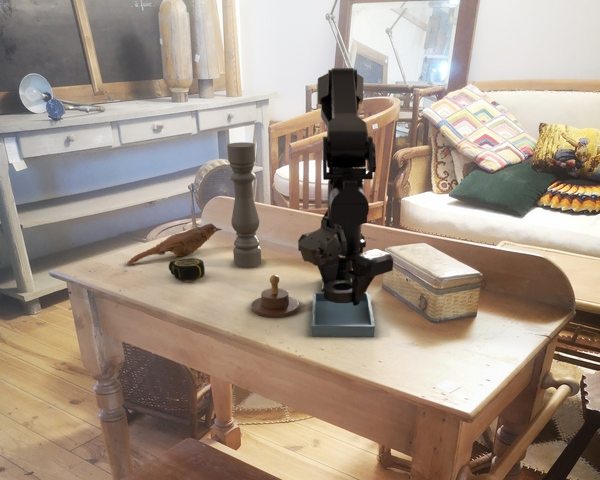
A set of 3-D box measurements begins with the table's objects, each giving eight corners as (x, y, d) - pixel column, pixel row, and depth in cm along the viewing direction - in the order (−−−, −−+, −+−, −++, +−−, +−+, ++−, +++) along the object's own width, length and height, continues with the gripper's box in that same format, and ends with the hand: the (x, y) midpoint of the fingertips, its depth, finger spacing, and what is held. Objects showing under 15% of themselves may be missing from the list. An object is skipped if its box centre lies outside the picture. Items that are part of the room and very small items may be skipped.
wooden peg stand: (254, 298, 117) (252, 266, 113) (299, 298, 116) (299, 267, 113) (249, 317, 109) (247, 284, 106) (298, 318, 109) (297, 284, 105)
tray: (313, 301, 115) (313, 292, 114) (368, 302, 115) (369, 292, 114) (311, 336, 102) (311, 325, 101) (374, 336, 102) (375, 326, 101)
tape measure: (200, 271, 130) (198, 254, 128) (209, 281, 125) (207, 263, 123) (169, 275, 128) (167, 258, 126) (177, 286, 123) (175, 268, 121)
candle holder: (257, 268, 131) (251, 147, 118) (230, 267, 132) (221, 146, 119) (264, 259, 136) (259, 142, 123) (238, 258, 137) (231, 141, 124)
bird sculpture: (126, 271, 137) (119, 251, 134) (217, 234, 148) (213, 214, 144) (138, 280, 133) (131, 259, 130) (231, 241, 143) (227, 221, 140)
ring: (323, 289, 109) (323, 279, 108) (359, 289, 109) (360, 279, 108) (323, 303, 104) (323, 293, 103) (361, 303, 103) (362, 293, 102)
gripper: (272, 207, 100) (275, 294, 109) (346, 232, 88) (343, 328, 96) (323, 197, 106) (322, 280, 114) (399, 219, 94) (391, 311, 102)
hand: (342, 298), depth 107 cm, fingers closed on ring, 7 cm apart
